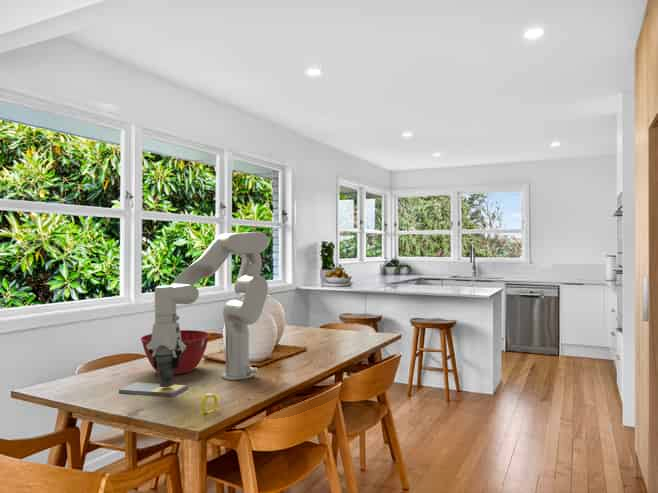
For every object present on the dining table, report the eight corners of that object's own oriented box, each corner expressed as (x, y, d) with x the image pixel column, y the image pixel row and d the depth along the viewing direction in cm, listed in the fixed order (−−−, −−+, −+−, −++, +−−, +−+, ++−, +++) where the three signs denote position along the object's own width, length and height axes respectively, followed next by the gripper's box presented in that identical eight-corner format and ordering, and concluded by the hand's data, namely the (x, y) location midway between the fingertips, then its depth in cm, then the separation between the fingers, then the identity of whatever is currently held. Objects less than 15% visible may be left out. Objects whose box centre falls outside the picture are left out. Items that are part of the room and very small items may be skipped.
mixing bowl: (190, 381, 196) (190, 342, 196) (126, 378, 202) (126, 340, 202) (220, 365, 224) (220, 331, 224) (163, 362, 230) (162, 329, 230)
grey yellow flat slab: (187, 388, 185) (187, 385, 185) (172, 396, 175) (172, 392, 175) (135, 385, 190) (135, 382, 190) (118, 392, 180) (118, 389, 180)
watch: (206, 416, 155) (205, 397, 154) (199, 415, 156) (198, 396, 156) (219, 409, 160) (218, 391, 159) (213, 408, 161) (212, 390, 161)
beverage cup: (158, 383, 185) (156, 330, 185) (178, 382, 185) (176, 329, 185) (153, 388, 177) (151, 333, 178) (174, 387, 178) (172, 332, 178)
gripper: (192, 318, 183) (192, 366, 183) (150, 317, 188) (151, 364, 188) (181, 321, 176) (182, 371, 176) (138, 320, 180) (139, 368, 180)
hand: (166, 367), depth 182 cm, fingers closed on beverage cup, 6 cm apart
